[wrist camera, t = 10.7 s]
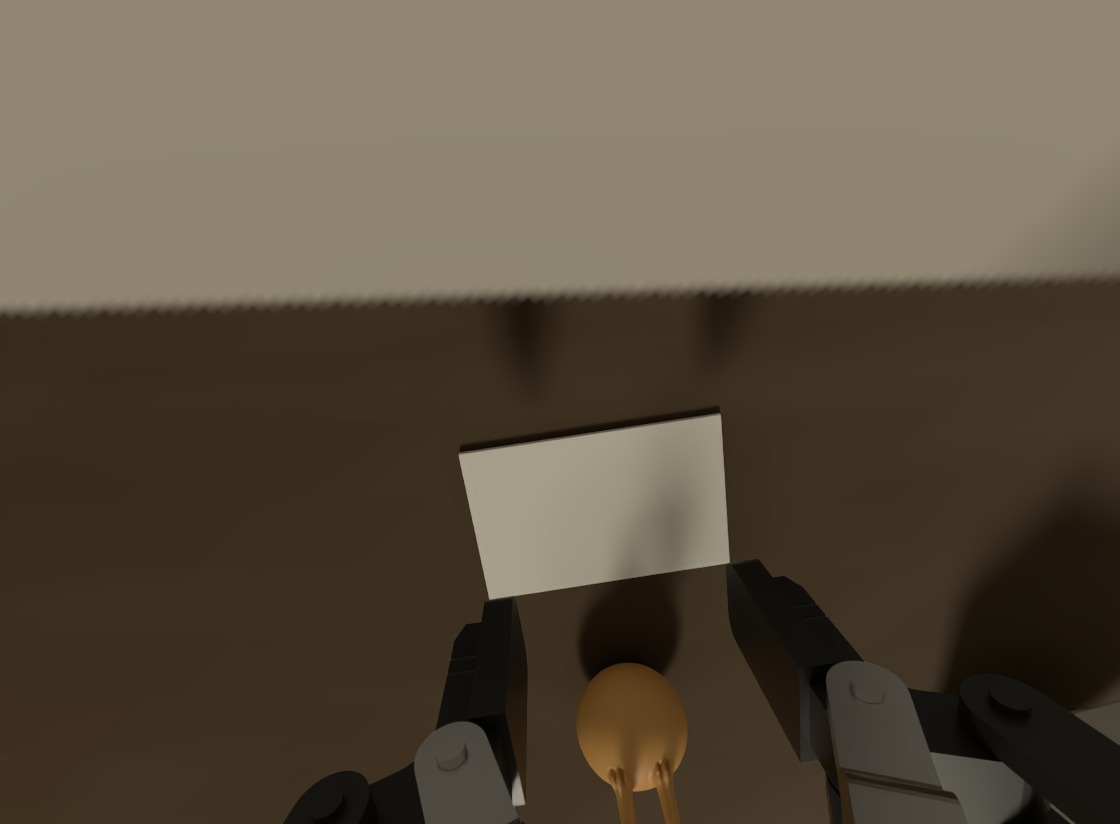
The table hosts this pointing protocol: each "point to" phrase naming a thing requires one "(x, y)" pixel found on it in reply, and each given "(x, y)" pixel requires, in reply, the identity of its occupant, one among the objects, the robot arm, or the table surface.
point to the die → (1100, 726)
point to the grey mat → (599, 505)
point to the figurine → (633, 734)
